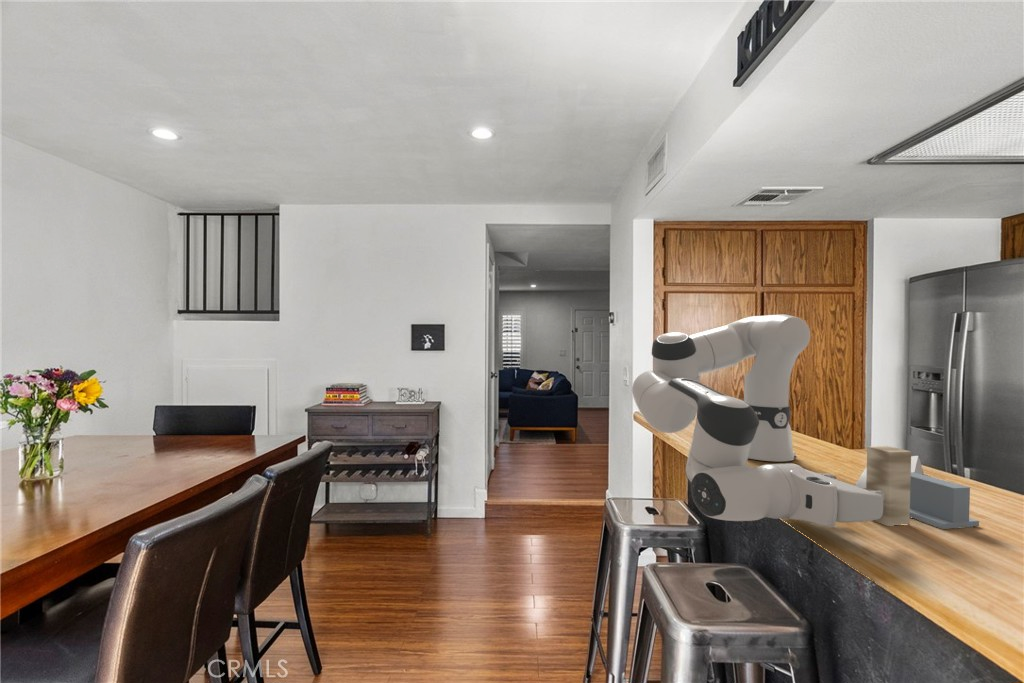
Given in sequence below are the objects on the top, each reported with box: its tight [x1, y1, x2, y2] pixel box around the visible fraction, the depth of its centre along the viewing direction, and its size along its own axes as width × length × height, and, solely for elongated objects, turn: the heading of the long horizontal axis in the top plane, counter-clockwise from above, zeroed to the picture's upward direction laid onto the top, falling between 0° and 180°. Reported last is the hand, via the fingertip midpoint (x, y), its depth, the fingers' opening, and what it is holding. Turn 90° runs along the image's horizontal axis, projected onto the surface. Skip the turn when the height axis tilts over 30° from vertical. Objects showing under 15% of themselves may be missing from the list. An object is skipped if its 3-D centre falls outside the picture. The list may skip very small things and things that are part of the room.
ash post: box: [866, 445, 912, 527], centre depth 92 cm, size 4×4×13 cm
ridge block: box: [910, 472, 980, 530], centre depth 94 cm, size 10×8×7 cm
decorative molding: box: [853, 455, 925, 489], centre depth 116 cm, size 34×5×10 cm
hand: (855, 486), depth 90 cm, fingers open, 8 cm apart
